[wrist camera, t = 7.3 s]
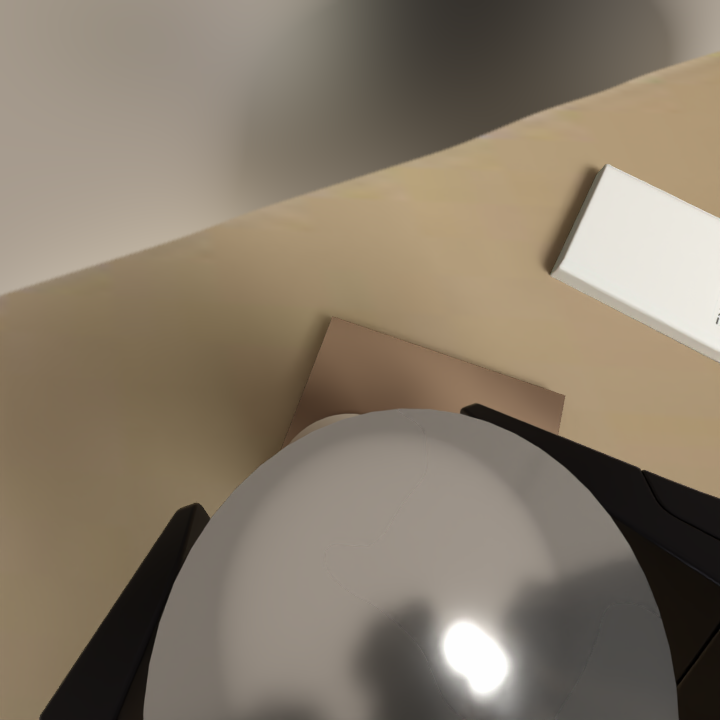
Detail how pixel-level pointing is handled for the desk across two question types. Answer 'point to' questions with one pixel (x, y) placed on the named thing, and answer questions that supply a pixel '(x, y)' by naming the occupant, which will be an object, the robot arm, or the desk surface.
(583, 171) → the desk surface
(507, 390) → the board
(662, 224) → the external hard drive
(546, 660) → the steel pin
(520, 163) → the desk surface
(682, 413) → the desk surface
